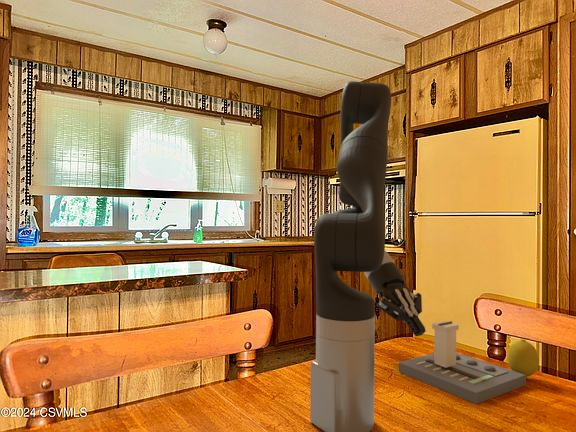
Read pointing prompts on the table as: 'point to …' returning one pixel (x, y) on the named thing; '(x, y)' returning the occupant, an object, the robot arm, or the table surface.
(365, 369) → the robot arm
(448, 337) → the fader knob
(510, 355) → the lemon
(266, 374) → the table surface
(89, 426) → the table surface
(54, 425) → the table surface
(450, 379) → the console
